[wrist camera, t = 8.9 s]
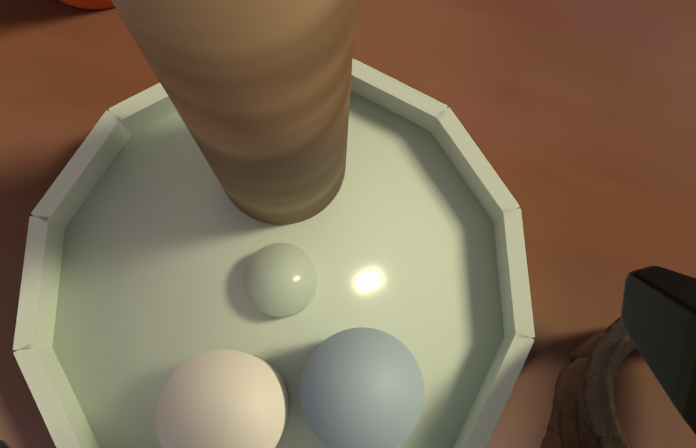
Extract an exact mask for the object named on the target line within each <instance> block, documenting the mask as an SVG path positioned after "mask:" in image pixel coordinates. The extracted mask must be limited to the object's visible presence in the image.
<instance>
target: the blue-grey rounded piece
mask: <svg viewBox="0 0 696 448" xmlns="http://www.w3.org/2000/svg"><path fill="white" fill-rule="evenodd" d="M300 401H301V406H302V411H303V414H304V417H305V419H306V421H307V423H308V425H309V427H310V428H311V430H312V431H313V433H314V434H315V435H316V436H317V437H318V439H319V440H321V441H322V442H323V443H324V444H325V445H326V446H328V447H329V448H396V447H397V446H399V445H400V444H401V443H402V442H403V441H404V440H405V439H406V438H407V437H408V436H409V435H410V434H411V432H412V431H413V430H414V428H415V426H416V425H417V423H418V421H419V418H420V416H421V413H422V409H423V405H424V381H423V377H422V373H421V370H420V367H419V365H418V363H417V361H416V359H415V357H414V356H413V354H412V353H411V352H410V350H409V349H408V348H407V347H406V346H405V345H404V344H403V343H402V342H401V341H399V340H398V339H397V338H395V337H394V336H392V335H390V334H388V333H386V332H384V331H381V330H377V329H373V328H363V327H359V328H351V329H346V330H343V331H340V332H338V333H336V334H334V335H332V336H330V337H329V338H327V339H326V340H324V341H323V342H322V343H321V344H320V345H319V346H318V347H317V348H316V349H315V350H314V352H313V353H312V354H311V356H310V358H309V359H308V361H307V363H306V365H305V368H304V371H303V374H302V378H301V383H300Z"/></svg>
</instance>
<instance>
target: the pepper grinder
mask: <svg viewBox="0 0 696 448" xmlns="http://www.w3.org/2000/svg"><path fill="white" fill-rule="evenodd" d="M111 1H112V2H113V4H114V6H115V7H116V9H117V11H118V12H119V14H120V16H121V17H122V19H123V21H124V22H125V24H126V26H127V28H128V29H129V31H130V33H131V34H132V36H133V38H134V39H135V41H136V43H137V44H138V46H139V48H140V49H141V51H142V53H143V54H144V56H145V58H146V59H147V61H148V63H149V64H150V66H151V68H152V70H153V71H154V73H155V75H156V76H157V78H158V80H159V81H160V83H161V85H162V86H163V88H164V90H165V91H166V93H167V95H168V96H169V98H170V100H171V101H172V103H173V105H174V107H175V108H176V110H177V112H178V113H179V115H180V117H181V118H182V120H183V122H184V123H185V125H186V127H187V128H188V130H189V132H190V133H191V135H192V137H193V138H194V140H195V142H196V143H197V145H198V147H199V149H200V150H201V152H202V154H203V155H204V157H205V159H206V160H207V162H208V164H209V165H210V167H211V169H212V170H213V172H214V174H215V175H216V177H217V179H218V180H219V182H220V184H221V186H222V187H223V189H224V191H225V192H226V194H227V196H228V197H229V199H230V200H231V201H232V203H233V204H234V205H235V206H236V207H237V208H238V209H239V210H241V211H242V212H243V213H245V214H246V215H248V216H250V217H251V218H253V219H256V220H258V221H261V222H265V223H269V224H276V225H286V224H294V223H298V222H302V221H304V220H307V219H310V218H311V217H313V216H315V215H317V214H318V213H320V212H321V211H323V210H324V209H325V208H326V207H327V206H328V205H329V204H330V203H331V202H332V201H333V199H334V198H335V197H336V195H337V193H338V192H339V190H340V188H341V185H342V183H343V179H344V176H345V169H346V153H347V137H348V121H349V106H350V90H351V74H352V58H353V42H354V26H355V11H356V0H111Z"/></svg>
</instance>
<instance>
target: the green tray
mask: <svg viewBox="0 0 696 448" xmlns="http://www.w3.org/2000/svg"><path fill="white" fill-rule="evenodd" d="M446 108H447V105H445V104H443V103H441V102H439V101H437V100H435V99H433V98H431V97H429V96H427V95H425V94H423V93H421V92H419V91H417V90H415V89H413V88H411V87H409V86H407V85H405V84H403V83H401V82H399V81H397V80H395V79H393V78H391V77H389V76H387V75H385V74H383V73H381V72H379V71H377V70H375V69H373V68H371V67H369V66H367V65H365V64H363V63H361V62H359V61H357V60H355V59H353V58H352V74H351V90H350V106H349V121H348V137H347V153H346V169H345V176H344V179H343V183H342V185H341V188H340V190H339V192H338V193H337V195H336V197H335V198H334V199H333V201H332V202H331V203H330V204H329V205H328V206H327V207H326V208H325V209H324V210H323V211H321V212H320V213H318V214H317V215H315V216H313V217H311V218H310V219H307V220H304V221H302V222H298V223H294V224H286V225H276V224H269V223H265V222H261V221H258V220H256V219H253V218H251V217H250V216H248V215H246V214H245V213H243V212H242V211H241V210H239V209H238V208H237V207H236V206H235V205H234V204H233V203H232V201H231V200H230V199H229V197H228V196H227V194H226V192H225V191H224V189H223V187H222V186H221V184H220V182H219V180H218V179H217V177H216V175H215V174H214V172H213V170H212V169H211V167H210V165H209V164H208V162H207V160H206V159H205V157H204V155H203V154H202V152H201V150H200V149H199V147H198V145H197V143H196V142H195V140H194V138H193V137H192V135H191V133H190V132H189V130H188V128H187V127H186V125H185V123H184V122H183V120H182V118H181V117H180V115H179V113H178V112H177V110H176V108H175V107H174V105H173V103H172V101H171V100H170V98H169V96H168V95H167V93H166V91H165V90H164V88H163V86H162V85H161V83H158V84H156V85H154V86H152V87H150V88H148V89H146V90H144V91H142V92H140V93H138V94H136V95H134V96H132V97H130V98H128V99H126V100H124V101H122V102H120V103H119V104H117V105H115V106H113V107H111V108H109V111H110V112H109V111H107V110H106V112H105V113H104V114H103V116H102V117H101V118H100V120H99V121H98V122H97V124H96V125H95V127H94V128H93V129H92V131H91V132H90V133H89V135H88V136H87V138H86V139H85V140H84V142H83V143H82V144H81V146H80V147H79V148H78V150H77V151H76V153H75V154H74V155H73V157H72V158H71V159H70V161H69V162H68V163H67V165H66V166H65V168H64V169H63V170H62V172H61V173H60V174H59V176H58V177H57V178H56V180H55V181H54V183H53V184H52V185H51V187H50V188H49V189H48V191H47V192H46V194H45V195H44V196H43V198H42V199H41V200H40V202H39V203H38V204H37V206H36V207H35V209H34V210H33V211H32V213H31V214H32V215H33V216H30V217H29V225H28V233H27V241H26V249H25V256H24V264H23V272H22V280H21V288H20V296H19V304H18V312H17V320H16V328H15V336H14V344H13V350H17V351H15V352H14V353H13V354H14V356H15V358H16V360H17V362H18V365H19V367H20V369H21V371H22V373H23V376H24V378H25V380H26V382H27V384H28V387H29V389H30V391H31V393H32V395H33V398H34V400H35V402H36V404H37V406H38V409H39V411H40V413H41V415H42V417H43V419H44V422H45V424H46V426H47V428H48V430H49V433H50V435H51V437H52V439H53V441H54V444H55V446H56V448H161V445H160V443H159V439H158V436H157V430H156V411H157V405H158V401H159V398H160V395H161V392H162V390H163V388H164V386H165V384H166V382H167V381H168V380H169V378H170V377H171V375H172V374H173V373H174V372H175V371H176V370H177V369H178V368H179V367H180V366H181V365H182V364H183V363H185V362H186V361H188V360H189V359H191V358H193V357H195V356H196V355H199V354H201V353H204V352H207V351H212V350H219V349H229V350H236V351H240V352H244V353H248V354H252V355H255V356H258V357H260V358H262V359H264V360H265V361H267V362H268V363H269V364H271V365H272V366H273V367H274V368H275V369H276V370H277V371H278V373H279V374H280V376H281V377H282V379H283V380H284V383H285V385H286V387H287V390H288V394H289V399H290V415H289V421H288V424H287V428H286V430H285V433H284V435H283V437H282V438H281V440H280V442H279V443H278V445H277V446H276V447H275V448H329V447H328V446H326V445H325V444H324V443H323V442H322V441H321V440H319V439H318V437H317V436H316V435H315V434H314V433H313V431H312V430H311V428H310V427H309V425H308V423H307V421H306V419H305V417H304V414H303V411H302V406H301V401H300V383H301V378H302V374H303V371H304V368H305V365H306V363H307V361H308V359H309V358H310V356H311V354H312V353H313V352H314V350H315V349H316V348H317V347H318V346H319V345H320V344H321V343H322V342H323V341H324V340H326V339H327V338H329V337H330V336H332V335H334V334H336V333H338V332H340V331H343V330H346V329H351V328H359V327H363V328H373V329H377V330H381V331H384V332H386V333H388V334H390V335H392V336H394V337H395V338H397V339H398V340H399V341H401V342H402V343H403V344H404V345H405V346H406V347H407V348H408V349H409V350H410V352H411V353H412V354H413V356H414V357H415V359H416V361H417V363H418V365H419V367H420V370H421V373H422V377H423V381H424V405H423V409H422V413H421V416H420V418H419V421H418V423H417V425H416V426H415V428H414V430H413V431H412V432H411V434H410V435H409V436H408V437H407V438H406V439H405V440H404V441H403V442H402V443H401V444H400V445H399V446H397V447H396V448H487V446H488V444H489V442H490V439H491V437H492V435H493V433H494V430H495V428H496V426H497V424H498V421H499V419H500V417H501V415H502V412H503V410H504V408H505V406H506V403H507V401H508V399H509V397H510V394H511V392H512V390H513V388H514V385H515V383H516V381H517V379H518V376H519V374H520V372H521V369H522V367H523V365H524V363H525V360H526V358H527V356H528V354H529V351H530V349H531V347H532V345H533V342H534V339H532V338H534V337H535V333H534V324H533V315H532V306H531V297H530V287H529V278H528V269H527V260H526V251H525V242H524V233H523V224H522V215H521V209H517V208H519V207H520V206H519V204H518V203H517V202H516V200H515V199H514V197H513V196H512V194H511V193H510V192H509V190H508V189H507V187H506V186H505V185H504V183H503V182H502V180H501V179H500V178H499V176H498V175H497V173H496V172H495V171H494V169H493V168H492V166H491V165H490V164H489V162H488V161H487V159H486V158H485V157H484V155H483V154H482V152H481V151H480V150H479V148H478V147H477V145H476V144H475V142H474V141H473V140H472V138H471V137H470V135H469V134H468V133H467V131H466V130H465V128H464V127H463V126H462V124H461V123H460V121H459V120H458V119H457V117H456V116H455V114H454V113H453V112H452V110H451V109H450V107H449V108H447V109H446Z"/></svg>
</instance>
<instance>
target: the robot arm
mask: <svg viewBox="0 0 696 448" xmlns="http://www.w3.org/2000/svg"><path fill="white" fill-rule="evenodd" d="M621 318H622V323H623V326H624V328H625V330H626V332H627V334H628V335H629V337H630V338H631V340H632V341H633V343H634V344H635V346H636V347H637V349H638V350H639V352H640V354H641V355H642V357H643V358H644V360H645V361H646V363H647V364H648V366H649V367H650V369H651V370H652V372H653V374H654V375H655V377H656V378H657V380H658V381H659V383H660V384H661V386H662V387H663V389H664V390H665V392H666V394H667V395H668V397H669V398H670V400H671V401H672V403H673V404H674V406H675V407H676V409H677V410H678V411H679V413H680V414H681V416H682V417H683V419H684V420H685V421H686V422H687V424H688V425H689V426H690V428H691V429H692V430H693V432H694V433H695V434H696V278H693V277H690V276H687V275H684V274H681V273H677V272H674V271H671V270H668V269H665V268H662V267H658V266H650V267H646V268H642V269H639V270H635V271H632V272H630V273H628V275H627V276H626V278H625V284H624V293H623V301H622V310H621ZM0 448H10V447H9V445H8V444H7V443H6V442H4V441H2V440H0Z"/></svg>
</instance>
